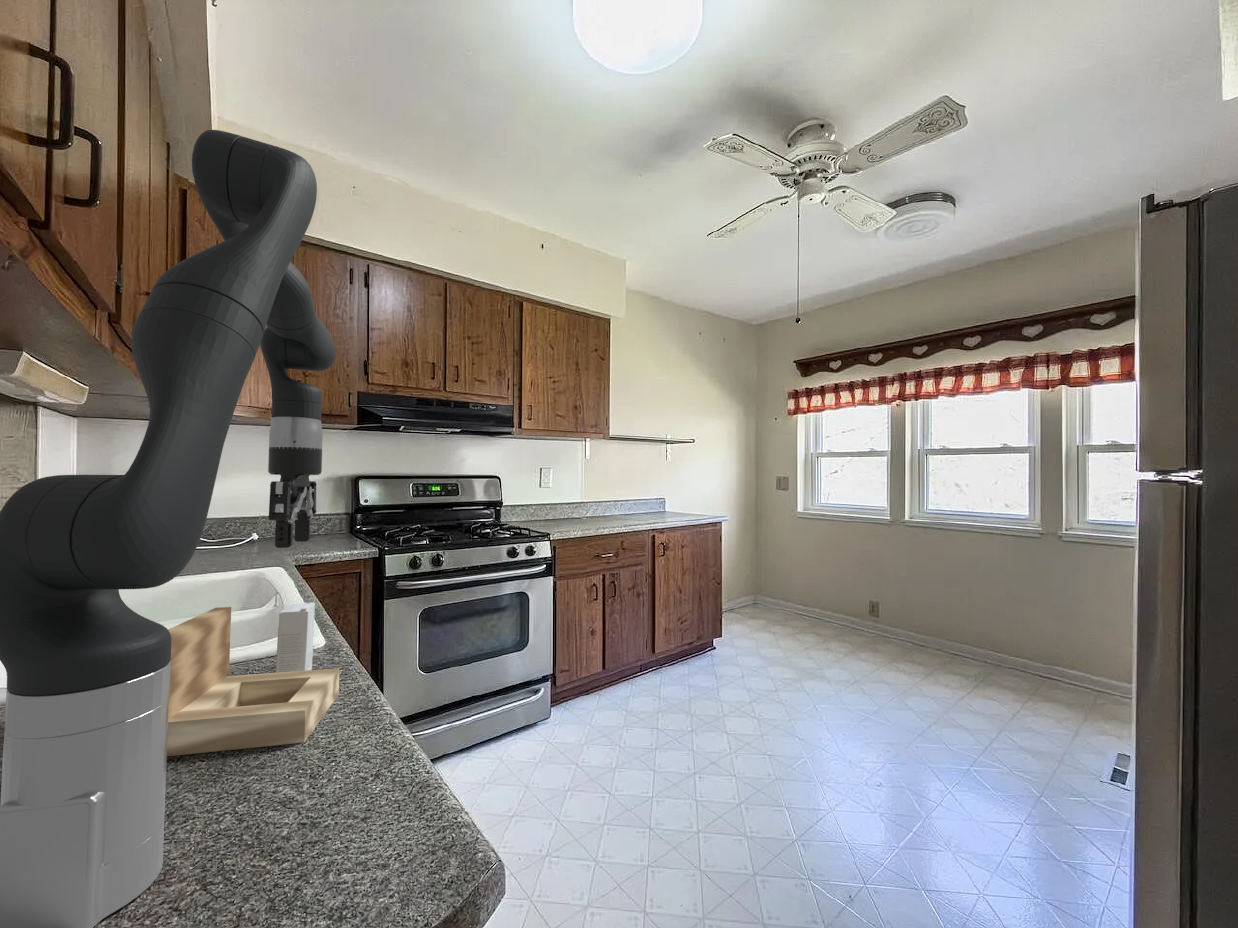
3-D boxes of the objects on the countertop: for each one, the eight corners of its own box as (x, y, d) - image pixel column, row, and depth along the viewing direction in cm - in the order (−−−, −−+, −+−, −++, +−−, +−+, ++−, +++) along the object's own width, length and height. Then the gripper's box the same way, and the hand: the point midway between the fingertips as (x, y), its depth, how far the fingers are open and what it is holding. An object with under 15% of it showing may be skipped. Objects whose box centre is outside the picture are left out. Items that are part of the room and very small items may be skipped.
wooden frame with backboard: (303, 744, 64) (306, 630, 65) (140, 760, 60) (145, 639, 61) (339, 693, 80) (342, 602, 80) (212, 703, 76) (215, 607, 76)
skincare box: (283, 676, 86) (285, 603, 87) (313, 672, 88) (315, 601, 89) (273, 689, 81) (276, 612, 81) (306, 686, 82) (308, 609, 83)
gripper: (307, 444, 80) (304, 549, 79) (333, 449, 93) (331, 538, 93) (251, 443, 78) (248, 550, 77) (286, 448, 92) (284, 539, 91)
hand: (293, 544), depth 85 cm, fingers open, 8 cm apart
